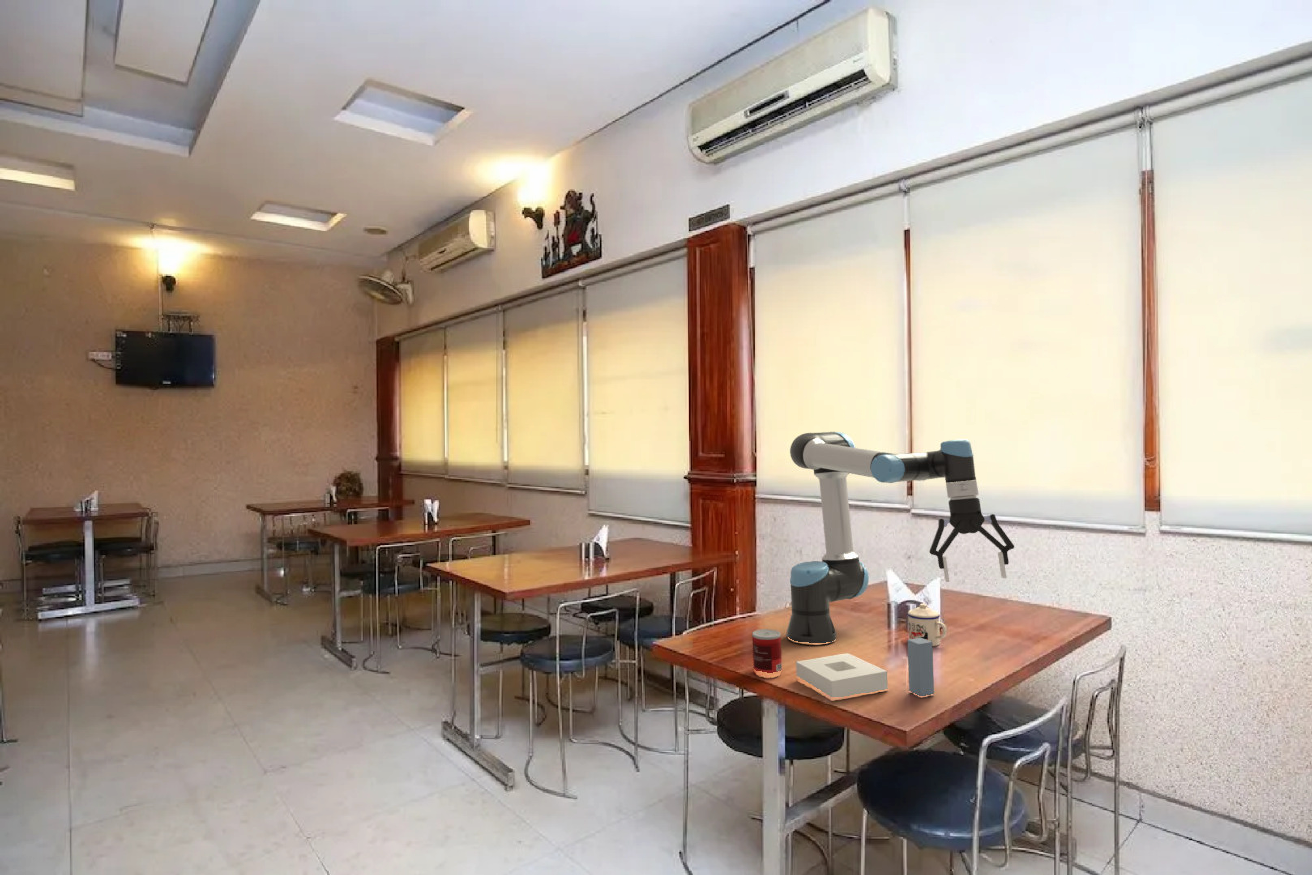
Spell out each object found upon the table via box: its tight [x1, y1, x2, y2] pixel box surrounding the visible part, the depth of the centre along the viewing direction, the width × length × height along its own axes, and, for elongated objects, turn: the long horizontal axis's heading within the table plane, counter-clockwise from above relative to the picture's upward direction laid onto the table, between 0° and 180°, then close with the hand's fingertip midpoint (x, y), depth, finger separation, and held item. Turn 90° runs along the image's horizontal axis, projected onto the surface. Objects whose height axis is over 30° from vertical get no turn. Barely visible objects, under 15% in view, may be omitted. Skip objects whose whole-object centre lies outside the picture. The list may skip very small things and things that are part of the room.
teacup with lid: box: [907, 603, 948, 647], centre depth 207 cm, size 12×9×12 cm
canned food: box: [751, 628, 783, 673], centre depth 186 cm, size 8×8×11 cm
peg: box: [907, 638, 935, 696], centre depth 167 cm, size 4×4×13 cm
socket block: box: [795, 652, 889, 697], centre depth 175 cm, size 16×16×5 cm
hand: (975, 579), depth 179 cm, fingers open, 13 cm apart
